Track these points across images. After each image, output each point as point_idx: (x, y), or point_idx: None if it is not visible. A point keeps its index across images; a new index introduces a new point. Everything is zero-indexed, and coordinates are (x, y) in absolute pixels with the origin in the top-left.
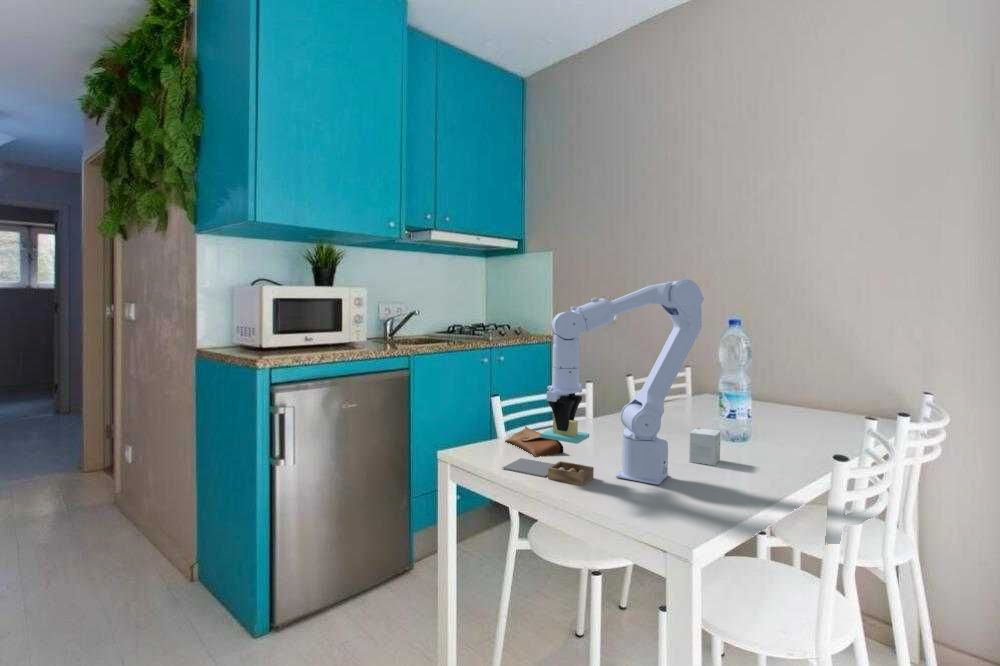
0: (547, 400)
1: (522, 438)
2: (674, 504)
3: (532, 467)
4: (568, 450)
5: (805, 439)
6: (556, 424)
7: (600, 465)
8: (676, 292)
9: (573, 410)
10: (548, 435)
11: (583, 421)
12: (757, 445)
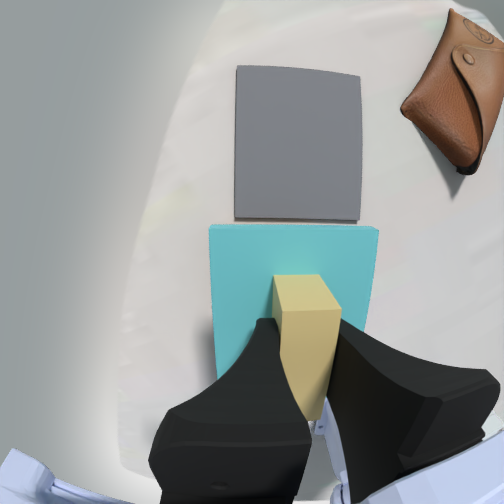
0: (17, 454)
1: (460, 48)
2: None
3: (292, 143)
4: (482, 178)
5: None
6: (254, 330)
7: (408, 302)
8: None
9: (344, 441)
10: (211, 276)
11: None
12: None
